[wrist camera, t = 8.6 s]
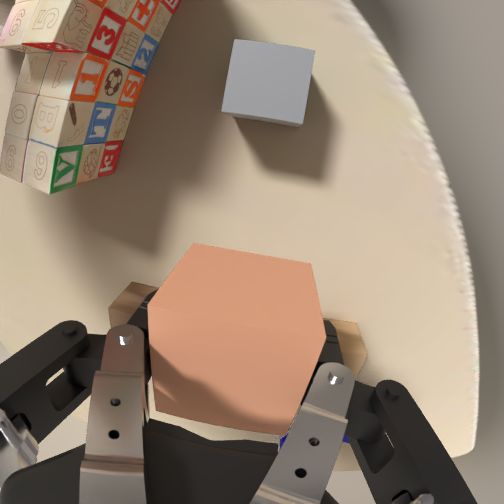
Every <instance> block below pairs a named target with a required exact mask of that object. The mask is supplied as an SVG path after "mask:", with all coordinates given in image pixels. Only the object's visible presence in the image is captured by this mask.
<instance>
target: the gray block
mask: <svg viewBox="0 0 504 504" xmlns="http://www.w3.org/2000/svg"><path fill="white" fill-rule="evenodd" d="M314 54H315V50H310V49H305V48H299V47H294V46H288V45H282V44H275V43H268V42H260V41H251V40H240V39H234V44H233V49H232V54H231V59H230V64H229V70H228V75H227V81H226V87H225V92H224V98H223V104H222V110H221V112H224V113H226V114H228V115H230V116H232V117H237V118H245V119H252V120H258V121H265V122H271V123H277V124H282V125H288V126H293V127H299V126H301V125H302V124H303V120H304V114H305V109H306V103H307V97H308V91H309V85H310V79H311V73H312V67H313V61H314Z"/></svg>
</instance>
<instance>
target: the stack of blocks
mask: <svg viewBox="0 0 504 504" xmlns="http://www.w3.org/2000/svg"><path fill="white" fill-rule="evenodd" d="M180 1H181V0H15V5H14V6H13V7H12V10H11V12H10V14H9V16H8V19H7V21H6V23H5V26H4V28H3V31H2V33H1V36H0V48H5V49H11V50H17V51H21V52H26V55H25V57H24V60H23V63H22V66H21V70H20V73H19V76H18V80H17V83H16V87H15V91H14V93H13V96H12V100H11V104H10V108H9V113H8V117H7V122H6V127H5V136H4V141H3V148H2V154H1V163H0V173H1V174H3V175H5V176H7V177H10V178H12V179H14V180H16V181H18V182H20V183H21V182H23V183H24V184H27V185H29V186H31V187H33V188H35V189H38V190H40V191H42V192H44V193H47V194H53V193H56V192H59V191H62V190H64V189H67V188H70V187H74V186H75V185H76V184H79V183H83V182H87V181H90V180H94V179H96V178H97V177H102V176H106V175H110V174H113V173H114V172H115V169H116V164H117V160H118V156H119V152H120V149H121V145H122V140H124V138H125V135H126V131H127V128H128V125H129V122H130V119H131V116H132V113H133V108H134V106H135V104H136V101H137V99H138V96H139V93H140V90H141V88H142V85H143V82H144V80H145V77H146V75H145V74H146V73H147V70H148V68H149V65H150V63H151V61H152V58H153V56H154V53H155V51H156V49H157V47H158V43H159V41H160V39H161V37H162V35H163V33H164V31H165V29H166V27H167V24H168V23H169V20H170V18H171V16H172V14H174V12H175V10H176V8H177V6H178V5H179V3H180Z"/></svg>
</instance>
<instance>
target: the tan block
mask: <svg viewBox="0 0 504 504" xmlns="http://www.w3.org/2000/svg"><path fill="white" fill-rule="evenodd" d="M157 289H158V290H159V288H156V287H152V286H148V285H143V284H139V283H135V282H131V283H130V284H129V286H128V287H127V288H126V289H125V290H124V291H123V292H122V293H121V294H120V295H119V296H118V298H117V299H116V300H115V301H114V302H113V303H112V304H111V305H110V306H109V317H110V325H111V328H113V327H114V326H117V325H122V324H126V323H127V322H128V321H129V319H130V318H131V317H132V315H133V314H134V313H135V311H136V310H137V309H138V307H139V306H140V305H141V303H142V302H143V301H144V299H145V298H146V297H147V295H148V294H149V293H151V292H153V291H155V290H157Z"/></svg>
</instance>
